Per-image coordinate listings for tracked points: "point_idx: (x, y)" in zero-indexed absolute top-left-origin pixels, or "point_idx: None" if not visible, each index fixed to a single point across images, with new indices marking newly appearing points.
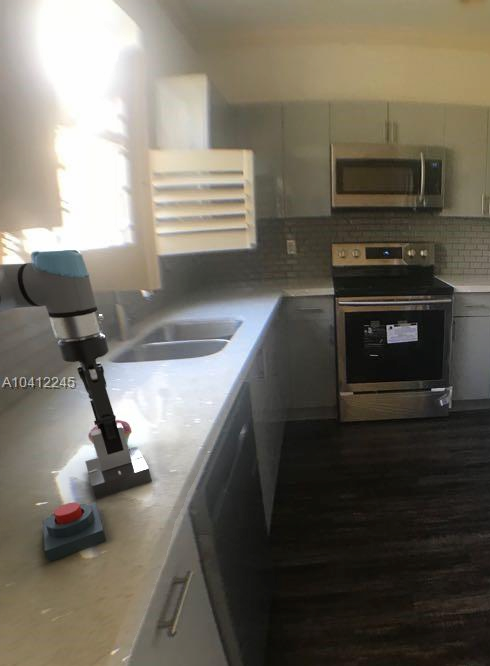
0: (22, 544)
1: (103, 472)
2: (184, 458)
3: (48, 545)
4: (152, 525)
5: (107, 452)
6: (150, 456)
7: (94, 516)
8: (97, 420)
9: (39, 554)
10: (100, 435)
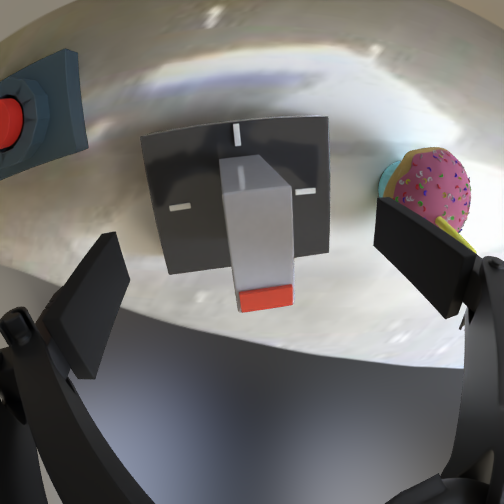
0: (57, 25)
1: (211, 163)
2: (247, 319)
3: None
4: (19, 249)
5: (98, 238)
6: (310, 257)
7: (25, 160)
8: (7, 339)
9: (13, 70)
10: (226, 226)
